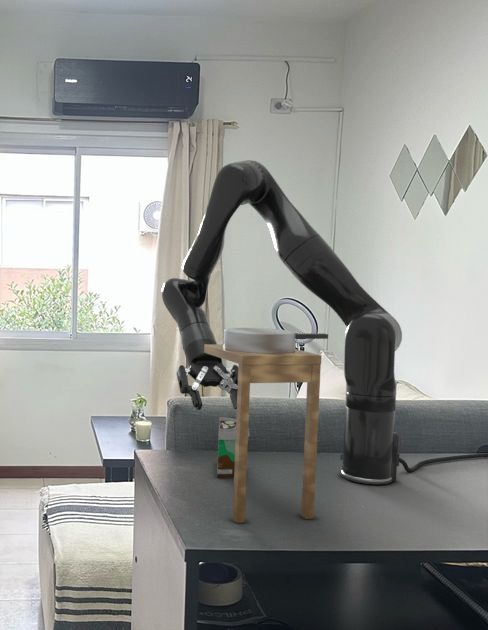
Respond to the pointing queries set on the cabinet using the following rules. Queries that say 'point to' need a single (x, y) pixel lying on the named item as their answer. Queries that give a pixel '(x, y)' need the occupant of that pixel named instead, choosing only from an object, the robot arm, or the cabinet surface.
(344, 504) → the cabinet surface
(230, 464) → the food container
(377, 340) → the robot arm
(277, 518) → the cabinet surface
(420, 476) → the cabinet surface
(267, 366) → the pan shelf
